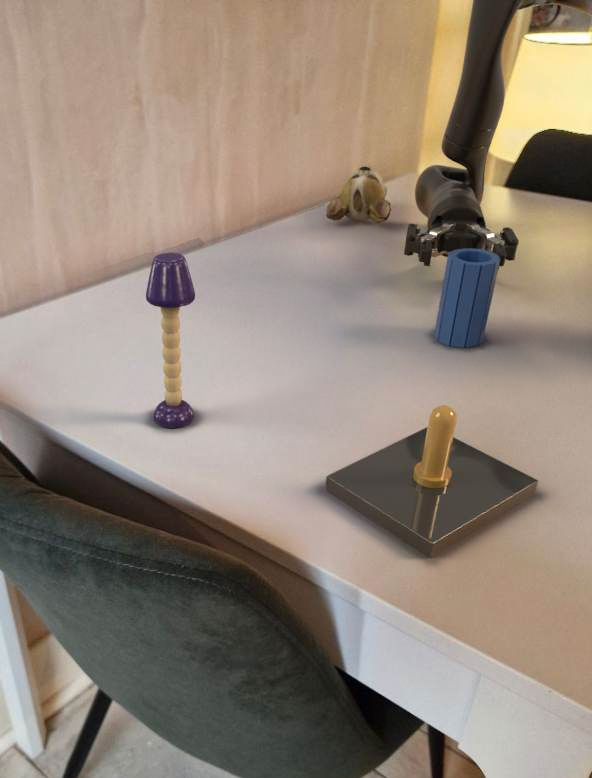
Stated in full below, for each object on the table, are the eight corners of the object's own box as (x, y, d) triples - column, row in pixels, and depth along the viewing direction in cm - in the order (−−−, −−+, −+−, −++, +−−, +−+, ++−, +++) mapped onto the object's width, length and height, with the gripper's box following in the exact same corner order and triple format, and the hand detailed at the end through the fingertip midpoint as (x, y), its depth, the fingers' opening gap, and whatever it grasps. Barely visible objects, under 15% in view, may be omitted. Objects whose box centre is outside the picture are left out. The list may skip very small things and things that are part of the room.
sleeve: (454, 324, 96) (468, 244, 90) (492, 339, 93) (510, 257, 87) (424, 336, 94) (437, 255, 88) (462, 352, 90) (479, 268, 84)
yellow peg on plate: (428, 438, 75) (442, 358, 70) (534, 494, 67) (560, 408, 62) (324, 489, 68) (332, 405, 63) (429, 558, 61) (448, 468, 56)
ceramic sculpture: (401, 155, 131) (392, 183, 120) (395, 206, 137) (386, 237, 126) (339, 153, 134) (325, 180, 123) (336, 203, 139) (322, 233, 129)
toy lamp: (157, 404, 81) (147, 247, 71) (200, 406, 81) (196, 248, 71) (150, 428, 78) (138, 265, 67) (196, 429, 77) (190, 266, 67)
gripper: (408, 192, 108) (409, 227, 96) (513, 196, 106) (528, 232, 93) (401, 246, 113) (401, 286, 100) (501, 250, 110) (514, 292, 98)
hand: (462, 260), depth 97 cm, fingers open, 8 cm apart
